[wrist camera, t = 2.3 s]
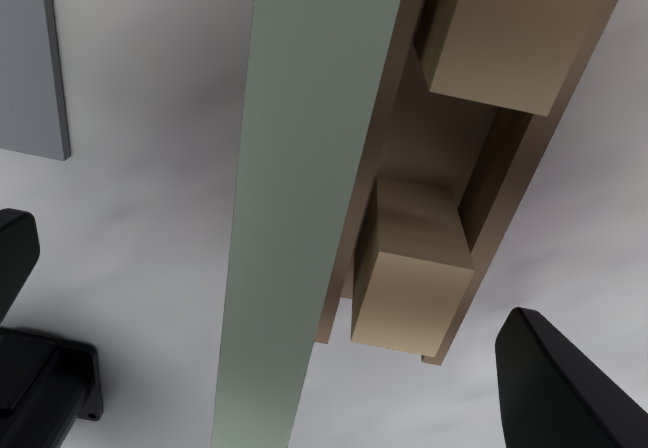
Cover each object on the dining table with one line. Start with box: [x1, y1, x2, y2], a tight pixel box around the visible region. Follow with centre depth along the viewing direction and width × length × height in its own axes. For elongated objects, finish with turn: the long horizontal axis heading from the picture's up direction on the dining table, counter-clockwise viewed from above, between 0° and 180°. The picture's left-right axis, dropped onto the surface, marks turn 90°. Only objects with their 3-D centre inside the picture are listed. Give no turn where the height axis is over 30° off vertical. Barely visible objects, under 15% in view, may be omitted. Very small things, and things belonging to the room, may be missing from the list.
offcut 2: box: [414, 0, 602, 116], centre depth 13 cm, size 4×3×5 cm
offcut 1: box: [351, 175, 475, 357], centre depth 18 cm, size 4×3×5 cm
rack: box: [314, 0, 618, 366], centre depth 16 cm, size 18×9×4 cm, turn 169°
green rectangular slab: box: [211, 0, 400, 448], centre depth 13 cm, size 14×2×11 cm, turn 169°
